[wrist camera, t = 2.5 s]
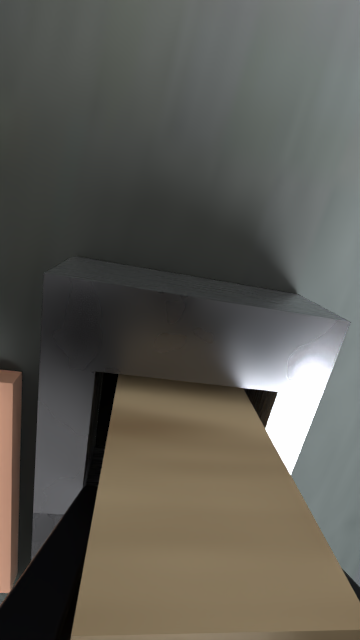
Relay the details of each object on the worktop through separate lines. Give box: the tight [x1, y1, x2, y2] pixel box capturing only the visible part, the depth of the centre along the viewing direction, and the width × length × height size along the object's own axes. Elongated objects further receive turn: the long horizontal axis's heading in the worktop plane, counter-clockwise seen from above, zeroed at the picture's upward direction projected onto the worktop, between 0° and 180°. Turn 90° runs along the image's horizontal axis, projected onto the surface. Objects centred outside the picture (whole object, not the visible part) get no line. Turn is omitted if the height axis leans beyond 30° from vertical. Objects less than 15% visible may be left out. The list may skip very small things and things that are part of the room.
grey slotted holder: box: [31, 256, 351, 561], centre depth 12 cm, size 18×8×3 cm, turn 169°
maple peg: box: [71, 374, 360, 640], centre depth 8 cm, size 4×4×8 cm
